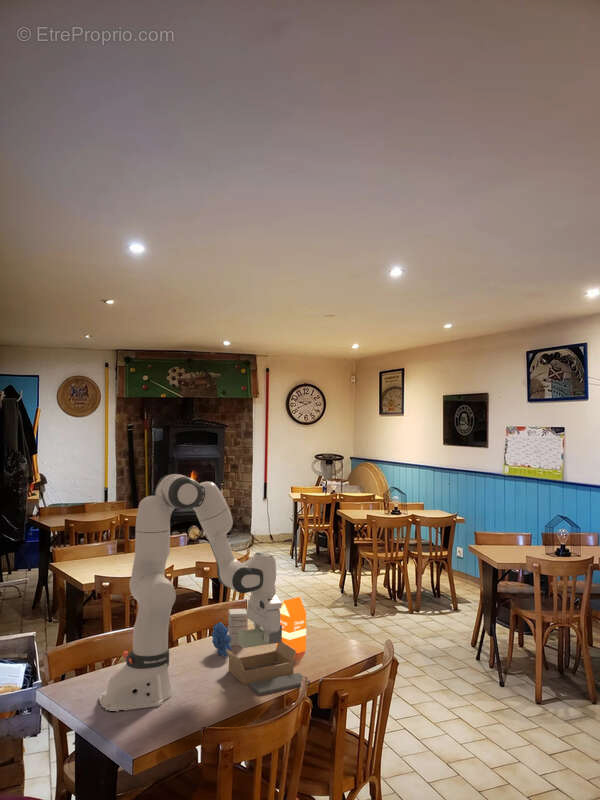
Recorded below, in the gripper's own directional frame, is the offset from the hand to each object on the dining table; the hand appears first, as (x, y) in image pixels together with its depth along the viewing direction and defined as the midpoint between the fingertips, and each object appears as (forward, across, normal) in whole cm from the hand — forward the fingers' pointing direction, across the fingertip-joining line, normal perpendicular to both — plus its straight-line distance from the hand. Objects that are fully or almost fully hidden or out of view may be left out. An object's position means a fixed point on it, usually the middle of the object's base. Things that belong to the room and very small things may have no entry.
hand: (261, 638), depth 216 cm
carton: (+12, 0, 0) cm, 12 cm away
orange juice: (+12, -14, +20) cm, 27 cm away
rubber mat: (+12, +13, +1) cm, 18 cm away
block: (+2, 0, -1) cm, 2 cm away
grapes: (+12, -22, -7) cm, 26 cm away
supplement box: (+12, -32, +5) cm, 35 cm away
